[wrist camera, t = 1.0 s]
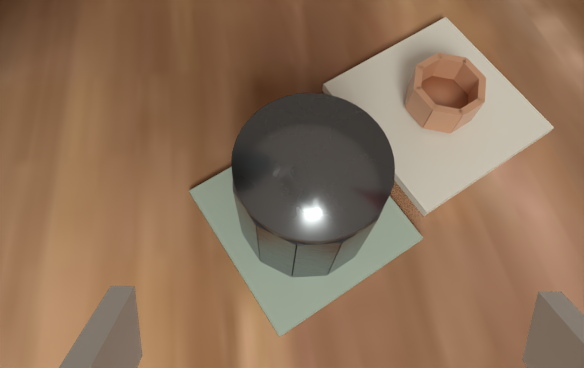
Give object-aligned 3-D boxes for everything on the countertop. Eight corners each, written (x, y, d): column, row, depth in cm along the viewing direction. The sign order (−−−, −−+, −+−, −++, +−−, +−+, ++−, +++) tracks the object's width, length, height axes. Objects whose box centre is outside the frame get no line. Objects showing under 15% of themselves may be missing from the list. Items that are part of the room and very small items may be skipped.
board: (322, 90, 45) (323, 84, 44) (442, 23, 49) (445, 16, 48) (423, 216, 41) (426, 212, 40) (548, 132, 44) (553, 127, 43)
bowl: (391, 96, 44) (400, 73, 41) (440, 68, 45) (453, 43, 42) (433, 145, 42) (446, 125, 39) (483, 114, 44) (500, 92, 40)
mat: (189, 193, 41) (188, 190, 40) (324, 116, 44) (325, 113, 43) (279, 337, 36) (279, 336, 36) (421, 240, 40) (423, 238, 39)
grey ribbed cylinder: (218, 196, 40) (201, 139, 31) (320, 137, 42) (332, 68, 33) (286, 302, 37) (290, 274, 28) (392, 231, 39) (428, 184, 30)
